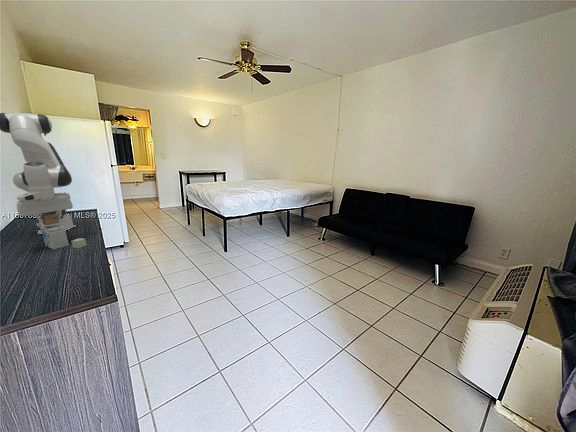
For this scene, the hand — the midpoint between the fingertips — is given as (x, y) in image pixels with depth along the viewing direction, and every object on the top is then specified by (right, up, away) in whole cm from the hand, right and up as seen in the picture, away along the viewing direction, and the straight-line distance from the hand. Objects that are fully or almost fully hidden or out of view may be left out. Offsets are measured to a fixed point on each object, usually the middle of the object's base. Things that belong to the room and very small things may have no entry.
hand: (50, 220), depth 123 cm
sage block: (+14, -14, +2) cm, 20 cm away
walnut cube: (0, -2, 0) cm, 2 cm away
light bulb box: (0, -14, +4) cm, 15 cm away
